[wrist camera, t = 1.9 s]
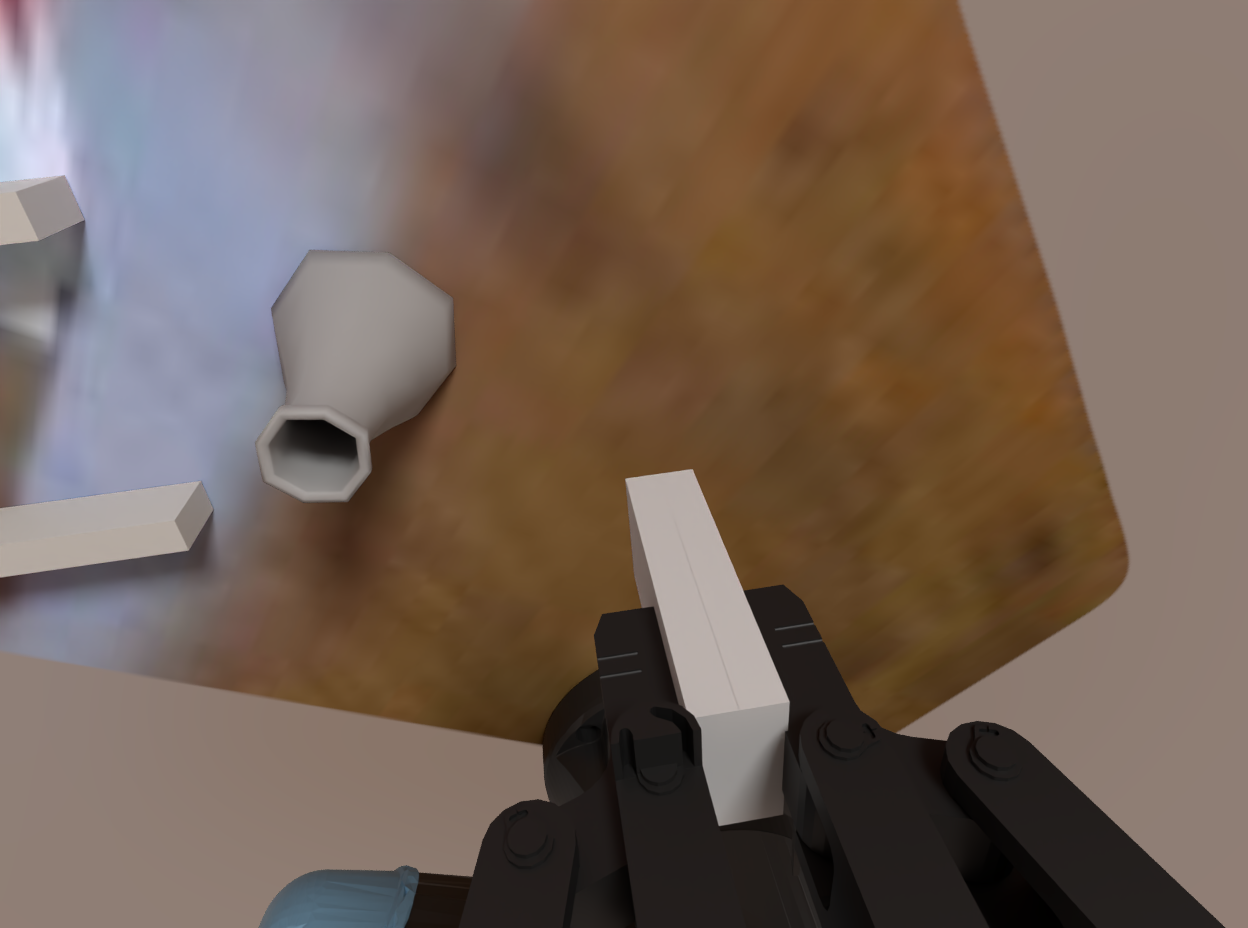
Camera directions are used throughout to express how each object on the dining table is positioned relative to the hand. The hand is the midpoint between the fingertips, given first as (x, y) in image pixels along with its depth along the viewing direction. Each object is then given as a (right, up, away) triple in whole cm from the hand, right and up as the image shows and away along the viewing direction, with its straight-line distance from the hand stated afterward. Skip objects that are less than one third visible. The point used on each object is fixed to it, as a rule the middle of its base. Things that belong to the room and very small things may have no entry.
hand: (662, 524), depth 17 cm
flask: (-11, +7, +13) cm, 19 cm away
